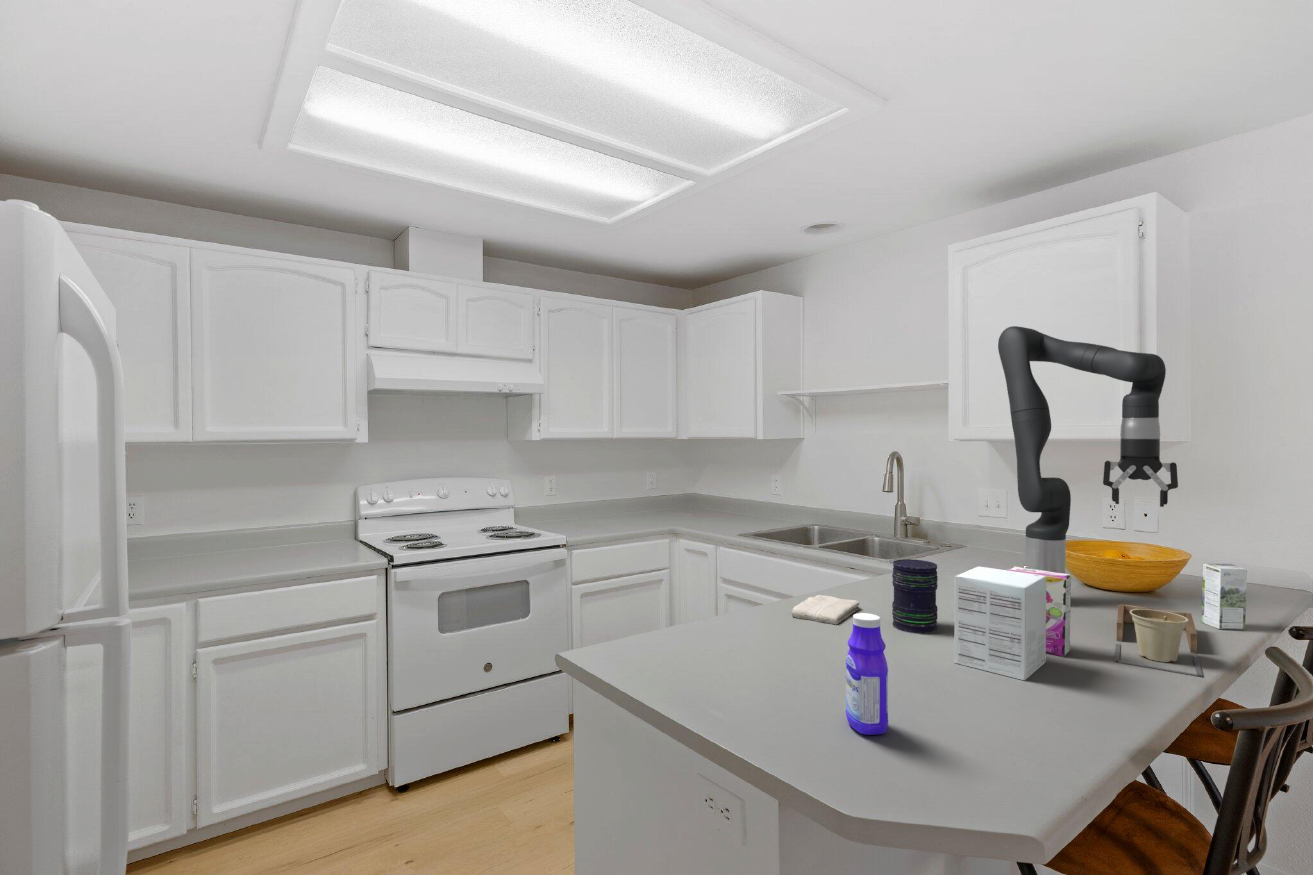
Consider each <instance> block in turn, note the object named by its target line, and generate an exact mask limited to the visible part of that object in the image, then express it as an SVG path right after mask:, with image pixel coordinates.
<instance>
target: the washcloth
mask: <svg viewBox="0 0 1313 875" xmlns="http://www.w3.org/2000/svg"><path fill="white" fill-rule="evenodd" d="M860 604H861V603H860V602H859V601H858V600H855V599H844V598H838V597H835V596H831V595H822V594H817V595H815V596H808V597H807V598H806V599H805V600H803V601H801V602H800V603H799V604H797V605H794V607H793V608H792V610H791V616H792V617H793V618H796V619H802V620H809V621H814V622H818V623H823V624H824V623H825V624H830V625H839V624H840V623H841V622H843V621H844V620H846V619H847V618H849V617H850V616H851V615H852V614H855V612H857V611H859V610H860V607H859V605H860Z"/></svg>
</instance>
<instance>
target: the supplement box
mask: <svg viewBox="0 0 1313 875" xmlns="http://www.w3.org/2000/svg"><path fill="white" fill-rule="evenodd" d="M1007 570H1008V569H1006V570H1005V569H999V568H994V567H993V568H992V567H986V566H980V565H978V566H976V567H974V568H972V569H969V570H967V571H964V572H961V573H959V574H956V575H955V576H954V631H953V632H954V633H953V634H954V637H953V638H954V643H953V644H954V645H953V646H954V647H953V648H954V655H953V661H954V663H955V664H957V665H962V666H965V667H971V668H974V669H978V670H981V671H986V672H990V673H993V674H997V675H1001V676H1005V677H1008V678H1013V679H1015V680H1016V679H1017V680H1021V681H1026V680H1028V679H1029V678H1030V677H1031V676H1032V675H1033V674H1034V673H1035V672H1037V671H1038V670H1039V669H1040V668H1041V667H1042V666H1044V665H1045V663H1046V661H1047V660H1046V659H1047V658H1046V656H1047V655H1046V654H1047V653H1046V576H1042V575H1036V574H1029V573H1022V572H1015V571H1007Z"/></svg>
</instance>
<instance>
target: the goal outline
mask: <svg viewBox="0 0 1313 875" xmlns="http://www.w3.org/2000/svg"><path fill="white" fill-rule="evenodd" d="M1120 655H1121V644H1120V643H1115V650H1114V658H1113V662H1115V663H1119V664H1123V665H1124V664H1125V665H1131V666H1137V667H1142V668H1147V669H1154V670H1158V671H1165V672H1171V673H1176V674H1182V675H1188V676H1191V677H1192V676H1193V677H1200V678H1204V674H1203V671H1202V667H1201V664H1200V663H1201V662H1200V658H1199V656H1196V655H1193V656H1192V658H1193V662H1194V666H1195V671H1196V673H1191V672H1187V671H1181V670H1174V669H1170V668H1169V669H1168V668H1165V667H1163V668H1162V667H1159V666H1158V667H1157V666H1153V665H1152V666H1151V665H1147V664H1140V663H1136V662H1135V663H1134V662H1128V661H1124V660H1123V661H1122V660H1120V657H1121V656H1120Z"/></svg>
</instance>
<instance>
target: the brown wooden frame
mask: <svg viewBox="0 0 1313 875" xmlns="http://www.w3.org/2000/svg"><path fill="white" fill-rule="evenodd" d="M1133 609H1151V610H1160V611H1166V612H1170V613H1174V614H1178V615H1181V616H1184V617H1186V618H1187V619H1188V622H1187V623H1186V625H1185V628H1184V629H1183V632H1185V634H1186V637H1187V638H1186V639H1187V643H1188V648H1189V652H1190V653H1192V654H1197V653H1198V633H1197V629H1196V626H1195V622H1194V619H1193V615H1192V613H1191V612H1182V611H1176V610H1168V609H1160V608H1153V607H1146V606H1145V607H1144V606H1137V605H1129V604H1123V603H1118V609H1117V615H1116V616H1117V617H1116V618H1117V619H1116V642H1121V643H1122V642H1123V636H1124V624H1125V623H1126V624H1134V621H1133V620H1132V615H1131V614H1130V611H1131V610H1133ZM1134 625H1135V624H1134Z"/></svg>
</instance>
